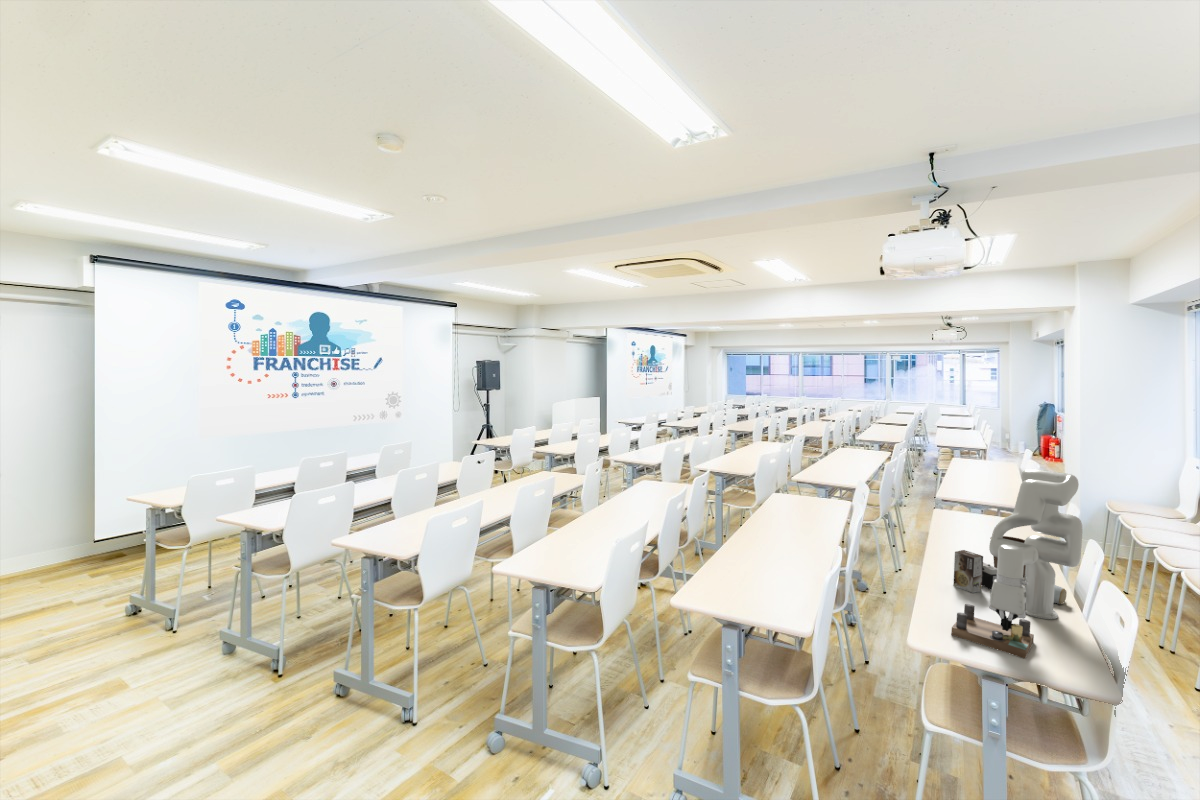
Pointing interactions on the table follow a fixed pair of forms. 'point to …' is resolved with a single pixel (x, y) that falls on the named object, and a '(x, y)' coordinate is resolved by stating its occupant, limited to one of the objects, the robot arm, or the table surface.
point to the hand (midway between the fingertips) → (1005, 629)
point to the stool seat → (983, 629)
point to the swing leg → (1015, 633)
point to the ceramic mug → (1059, 595)
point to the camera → (988, 575)
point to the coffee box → (968, 571)
